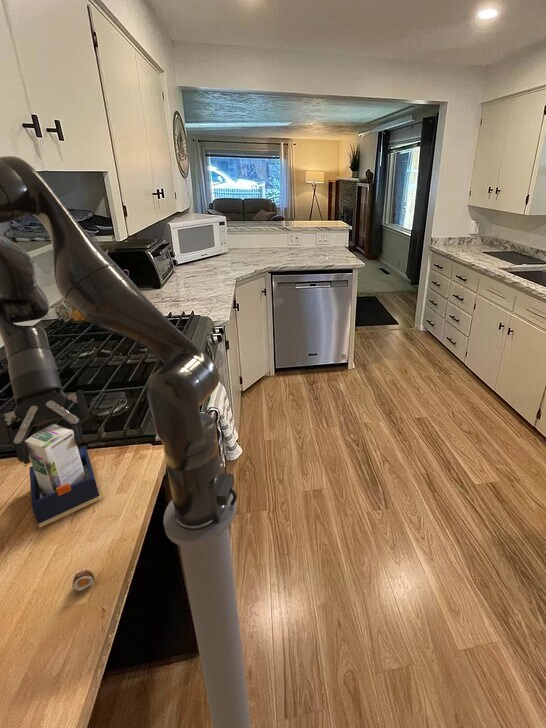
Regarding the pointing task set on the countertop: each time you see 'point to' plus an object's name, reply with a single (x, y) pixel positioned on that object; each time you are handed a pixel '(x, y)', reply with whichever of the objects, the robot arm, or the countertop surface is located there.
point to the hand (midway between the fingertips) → (54, 453)
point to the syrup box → (55, 458)
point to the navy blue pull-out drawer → (64, 495)
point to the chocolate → (82, 580)
